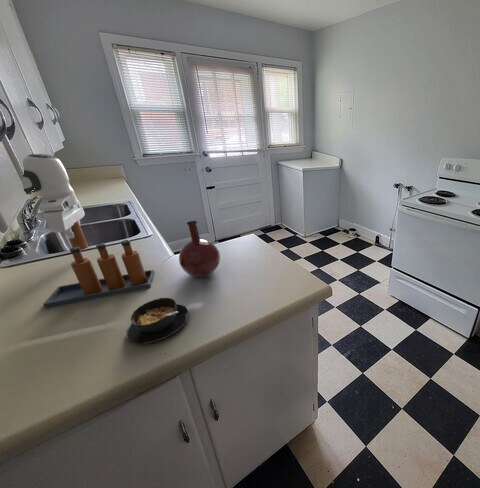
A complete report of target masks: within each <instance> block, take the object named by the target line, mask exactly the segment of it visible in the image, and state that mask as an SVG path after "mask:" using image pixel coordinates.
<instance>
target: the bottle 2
mask: <svg viewBox="0 0 480 488" xmlns="http://www.w3.org/2000/svg"><path fill="white" fill-rule="evenodd" d="M95 248H96V250H97V251H98V253H99V257H97V258H96V263H97V265H98V267H99V269H100V272H101V274H102V276H103V279H105V281H106V284H107V286H108V288H109V290H115V289H121V288H123V287H124V286H125V282H124V279H123V276H122V275H123V274H122V271H121V268H120V266H119V264H118V261H117V258H116V256H115V254H109V252H108V249H107V246H106V243H105V242H101V243H97V244H96V245H95Z"/></svg>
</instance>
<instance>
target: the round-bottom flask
mask: <svg viewBox="0 0 480 488" xmlns="http://www.w3.org/2000/svg"><path fill="white" fill-rule="evenodd" d="M186 225H187V227H188V232H189V235H190V239H191V241H188V242H187V243H186V244H184V245H183V247H182V248H181V249H180V251H179V255H178V263H179V266H180V268H181V269H182V270H183V272H184V273H186V274H187V275H189V276H191V277H195V278H202V277H207V276H210V275H211V274H213V273H214V272H215V271H216V270H217V268H218V267H219V265H220V262H221V254H220V251H219V249H218V247H217V246H216V245H215V244H214V243H213V242H211V241H209V240H207V239H201V238H200V233H199V229H198V222H197V220H191V221H188V222H186Z"/></svg>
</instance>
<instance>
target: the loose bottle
mask: <svg viewBox="0 0 480 488" xmlns="http://www.w3.org/2000/svg"><path fill="white" fill-rule="evenodd" d="M82 229H83V228H82V227H81V223H80V224H79V222H78V220H77V221H76V222H75V224H74V225H73V226H71V230H72V232H73V233H75V237H74V238H71V239H69V238H68V241H69V243H70V246H71V248H74V247H79V248H80V250H81V251H84V250H86V249H87V248H89V245H88V242H87V239H86V237H85V234H84V232H83V230H82Z"/></svg>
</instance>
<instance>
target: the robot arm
mask: <svg viewBox="0 0 480 488" xmlns="http://www.w3.org/2000/svg"><path fill="white" fill-rule="evenodd" d="M22 160H23V167H24V175H23V178H22V184H23V188H24V191H25V192H26V194H27V195H29V194H33V193H40V195H41V201H40V204H39V205H38V209H39V212H41V213H43V217H44V220H45V222H46V223H47V225H48V228H49V229H50V230H51V232H53V233H55V234H56V233H64V234H65V235H66V236H67V239H68V240H69V239H71V238H74V237H75V233H73V232H72V230H71V226H73V225H74V224H75V222H76V221H77V220H78V222H79V224H80V225H81V221H80V220H82V219H83V218H84V217H85V216H86V214H85V213H86V212H85V211H84V208H83V205H82V204H81V202H80V201H79V200H78V198H77V195H76V193H75V191H74V188H73V187H72V186H71V184H70V178H69V175H68V172H67V170H66V168H65V166H64V164H63V163H62V161H61V160H60V159H59V158H58V157H56V156H54V155H51V154H43V153H38V154H37V153H31V154H28V155H26V156H25V157H24V158H23V159H22ZM34 188H35V189H34ZM32 190H34V191H32ZM31 191H32V192H33V193H31Z"/></svg>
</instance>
